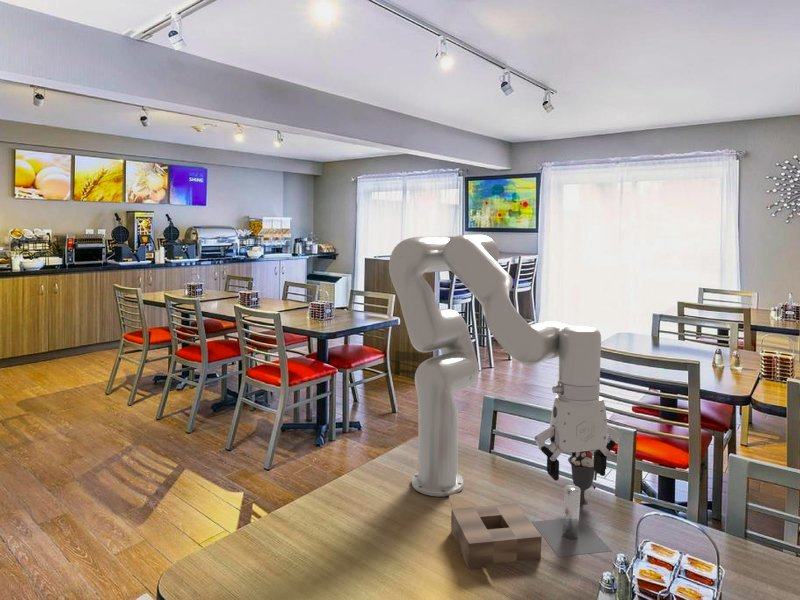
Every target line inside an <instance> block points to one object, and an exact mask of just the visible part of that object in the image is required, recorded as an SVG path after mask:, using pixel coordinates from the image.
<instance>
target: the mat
mask: <svg viewBox="0 0 800 600" xmlns="http://www.w3.org/2000/svg"><path fill="white" fill-rule="evenodd" d="M531 523H532V524H533V526H534V527H535V528H536V530H537V531H538V532H539V534H540V535H541V536H542V538H543V539H544V540H545V541H546V543H547V544H548V545H549V546H550V548H551V549H552V551H553V552H554V553H555V554H556V556H557V557H559V558H560V557H570V556H577V555H588V554H589V555H590V554H597V553H607V552H609V553H610V552H613V550H612V549H611V548H610V547H609V546H608V545H607V544H606V542H605V541H604V540H603V539H602V538H601V537H600V536H599V535H598V534H597V533H596V532H595V531H594V529H592V528H591V527H590V526H589V524H587V522H586V521H585V520H584V519H583V518H582V517H581V516H579V528H578V538H577V539H576V540H569V539H566V538H565V537H563V535H562V530H563V518H557V519H556V518H555V519H554V518H553V519H545V520H535V521H534V520H533V521H531Z"/></svg>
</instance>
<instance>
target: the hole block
mask: <svg viewBox="0 0 800 600" xmlns="http://www.w3.org/2000/svg"><path fill="white" fill-rule="evenodd" d="M450 512H451V515H450V517H451V522H450V526H451V527H450V532H451V534H452V537H453V539H454V542H455V543H456V545H457V547H458V550H459V552H460V554H461V556H462V559H463V561H464V562H465V564H466V568H467V569H468V570H473V569H481V568H483V569H484V568H486V566H487V565H494V564H503V563H512V562H521V561H522V562H523V561H532V560H541V558H542V539H543V536H542V535H541V533H540V532H539V531H538V529H537V528H536V527H535V525H534V524H533V523H532V521H531V520H530V519H529V518H528V516H527V515H526V513H525V512H524V511H523V510H522V508H521V507H520V505H519V504H518V503H506V504H494V505H484V506H483V505H482V506H471V507H458V508H451V511H450Z"/></svg>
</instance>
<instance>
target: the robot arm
mask: <svg viewBox="0 0 800 600" xmlns="http://www.w3.org/2000/svg"><path fill="white" fill-rule="evenodd" d="M499 258H500V250H499V247H498V245H497V243H496V242H495V241H494V239H492V238H491V237H489V236H487V235H486V234H485V235H484V234H460V235H455V236H413V237H409V238H406V239H403V240H402V241H400V242H399V243H398V244H396V246H395V247H394V248H393V250H392V252H391V253H390V257H389V261H388V272H389V278H390V280H391V283H392V285H393V289H394V291H395V293H396V296H397V299H398V301H399V305H400V308H401V313H402V316H403V320H404V323H405V327H406V331H407V334H408V338H409V340H410V343H411V345H412V347H413V348H414V349H415V350H416V351H418V352H419V353H430V352H435V351H439V350H440V352H441V354H439V355H435V356H432V357H430V358H428V359H426V360H423V361H422V362H421V363H420V364H419V365H418V366H417V368H416V371H415V373H414V384H415V391H416V397H417V406H418V408H417V409H418V410H417V411H418V414H417V415H418V416H417V417H418V432H417V433H418V434H417V435H418V441H417V443H418V444H417V448H418V449H417V450H418V451H417V452H418V453H417V472H416V473H414V474H413V475H412V477H411V486H412V488H413V489H414V490H415V491H417V492H418V493H421V494H423V495H426V496H431V497H439V498H440V497H448V496H449V495H453V494H455V495H456V494H458V493H459V492H460V491H462V490H463V488H464V485H465V484H464V483H465V482H464V481H465V480H464V478H463V477H462V475H461V474H459V473H458V464H459V463H458V462H459V461H458V458H459V456H458V455H459V409H458V406H457V404H456V402H455V401H456V400H455V398H454V395H455V393H458V392H460V391H463V390H465V389H467V388H469V387H471V386H473V385H474V384H475V383H476V382H477V380H478V377H479V371H480V370H479V364H478V363H479V362H478V359H477V356H476V352H475V351H476V350H475V348H474V345H473V341H472V339H471V338H472V337H471V335H470V331H469V327H468V325H467V323H466V321H465V319H464V318H463V316H462V315H461V314H460V313H459V312H458V311H456V310H454V309H452V308H451V309H450V308H441V309H440V308H439V307H438V304H437V301H436V295H435V293H434V291H433V289H432V287H431V285H430V284H429V283H428V281H427V280H426V279H425V277H424V276H423V275H424V274H425V273H437V272H452V273H453V274H454V276H455V277H456V278H457V279H459V281H460V283H462V284H463V285H464V286H465V288H466V289H467V290H468V291H469V292H470V293H471V294H472V296H473V297H474V298H475V299H476V300H477V301H478V302H479V303H480V305H481V308H482V313H483V314H482V315H483V317H484V320H485V323H486V325H487V328H488V330H489V333H491V335H492V337H493V338H494V339H495V341H496V342H497V343H498V344H499V345H500V346H501V347H502V349H503V350H504V351H505V352H506V353H507V354H508V355H509V356H511V358H513V359H514V360H515V361H516V362H518V363H520V364H523V365H526V366H532V365H537V364H540V363H543V362H545V361H547V360H552V359H556V358H558V380H557V385H554V386H552V387H551V391H552V393H553V394H557V395H556V396H555V397H554V401H553V403H552V404H553V405H552V409H551V416H550V424H549V425H550V427H548V428H547V429H545V430H543V431H542V432H540V433H539V434H537V435H535V436H534V441H535V443H536V445H537V447H538V449H539V450H540V451H541V452H542V453H543V454H544V455H545V456H546V472H547V473H546V474H548V475H549V476H550V477H551V478H552V479H553V480H554V481H559V480H560V461H559V460H558V458H559V457H560V455H561V454H562V453H565V454H566V453H570V454H571V453H572V452H582V451H590V452H591V451H594V452H593V457H594V470H595V472H596V473H597V474H598V475H600V476H601V477H605V476H606V470H607V462H608V460H607V459H608V458H607V457H609V456H610V454H611V451H612V450H613V448H614V447H615V446H616V442H617V441H618V440H619V437H620V435H621V431H618V430H617V429H615V428H612V427H611V426H609V425H608V417H607V410H606V405H605V400H604V397H602V396H600V388H601V385H600V384H601V352H602V351H601V350H602V335H601V332H600V330H598V329H597V328H596V327H591V326H587V325H569V324H565V323H562V322H558V321H553V320H544V321H540V322H536V323H531V324H529V323H528V322H527V320H526V319H525V318H523V316H522V315H521V313H519V312H518V310H517V309H516V307H514V305H513V303H512V301H511V299H510V292H511V290H512V288H513V285H514V279H513V277H512V276H511V274H509V272H507V271H506V270H505V268H503V266H501V264H499V262H498V261H499ZM548 440H549V441H550V444H549V445H548V447H547V445H546V441H548ZM449 497H450V496H449Z"/></svg>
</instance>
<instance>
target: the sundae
mask: <svg viewBox="0 0 800 600" xmlns="http://www.w3.org/2000/svg"><path fill="white" fill-rule="evenodd" d="M567 461H568V463H569V464H570V468H571V477H572V478H571V479H572V483H573V485H574V486H577V487H579V488H580V489H581V491H580V505H581V506H586V505H588V504H589V501H588V500H587V499H586V497H585V491H588V490H589V489H590V488H592V484H593V482H594V477H595V472H596V471H595V470H594V455H593V452H591V451H582V452H571V455H570V457H568V458H567Z"/></svg>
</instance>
